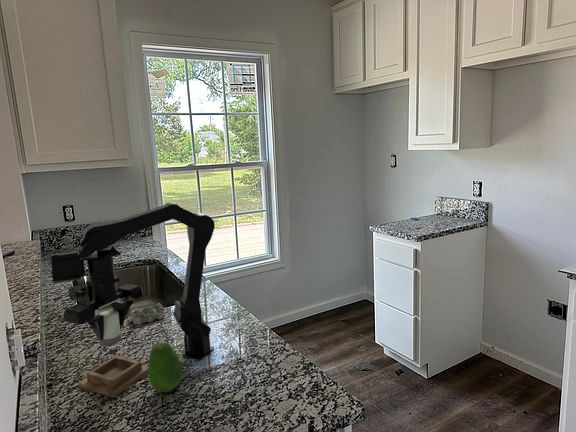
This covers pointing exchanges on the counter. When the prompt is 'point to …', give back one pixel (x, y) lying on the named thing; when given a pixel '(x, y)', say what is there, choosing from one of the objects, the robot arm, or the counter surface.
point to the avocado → (164, 368)
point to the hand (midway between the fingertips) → (110, 334)
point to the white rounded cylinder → (111, 328)
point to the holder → (114, 376)
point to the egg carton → (147, 314)
